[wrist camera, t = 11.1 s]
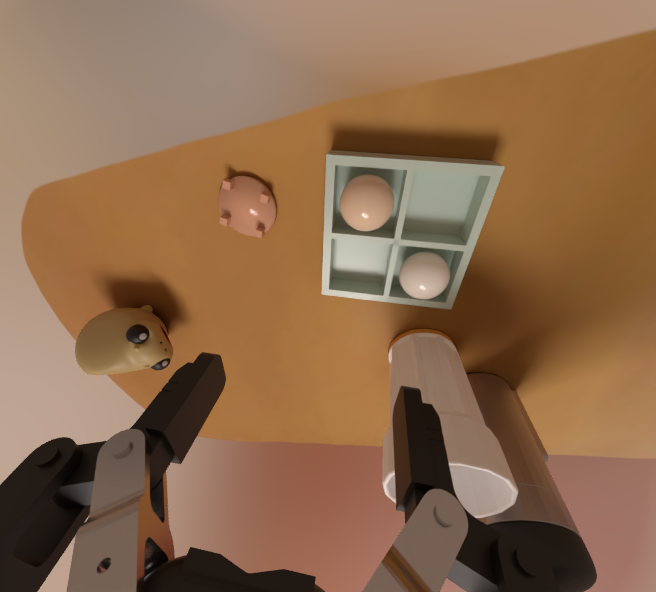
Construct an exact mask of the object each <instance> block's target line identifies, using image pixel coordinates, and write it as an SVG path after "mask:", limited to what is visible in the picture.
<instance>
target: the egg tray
mask: <svg viewBox="0 0 656 592" xmlns="http://www.w3.org/2000/svg"><path fill="white" fill-rule="evenodd" d="M504 168H505V166H503V165H501V164H499V163H496V162H494V161H490V160H475V159H459V158H444V157H429V156H414V155H398V154H383V153H368V152H352V151H337V150H331V151H330V152H329V153H327V154H326V182H325V211H324V241H323V271H322V295H331V296H339V297H348V298H356V299H365V300H373V301H382V302H390V303H399V304H407V305H415V306H424V307H432V308H441V309H449V310H451V309H452V306H453V303H454V301H455V298H456V295H457V293H458V290H459V287H460V285H461V282H462V280H463V277H464V274H465V272H466V269H467V266H468V264H469V261H470V258H471V256H472V253H473V250H474V248H475V245H476V242H477V240H478V237H479V234H480V232H481V229H482V226H483V224H484V221H485V219H486V216H487V213H488V211H489V208H490V205H491V203H492V200H493V197H494V195H495V192H496V189H497V187H498V184H499V181H500V179H501V176H502V173H503V171H504ZM364 174H372V175H377V176H379V177H381V178H383V179H384V180H385V181H386V182H387V183H388V184H389V185H390V187H391V189H392V191H393V194H394V209H393V212H392V214H391V216H390V218H389V219H388V221H387V222H386V223H385V224H384V225H383V226H381V227H380V228H378V229H375V230H372V231H359V230H356V229H354V228H352V227H351V226H350V225H348V224H347V223H346V221H345V220H344V218H343V217H342V214H341V211H340V197H341V194H342V191H343V189H344V188H345V186H346V185H347V184H348V183H349V182H350V181H351V180H352V179H354V178H355V177H357V176H360V175H364ZM422 251H428V252H433V253H436V254H438V255H439V256H441V257H442V258H443V259H444V260H445V261H446V263H447V265H448V267H449V271H450V279H449V283H448V285H447V287H446V288H445V290H444V291H443V292H442V293H441V294H439V295H438V296H436V297H434V298H431V299H417V298H414V297H412V296H410V295H409V294H407V293H406V292H405V291H404V289H403V288H402V286H401V284H400V281H399V271H400V268H401V266H402V264H403V262H404V261H405V260H406V259H407V258H408V257H409V256H411V255H412V254H415V253H417V252H422Z"/></svg>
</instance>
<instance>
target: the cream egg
mask: <svg viewBox="0 0 656 592" xmlns="http://www.w3.org/2000/svg"><path fill="white" fill-rule="evenodd" d="M449 279H450V271H449V267H448V265H447V263H446V261H445V260H444V259H443V258H442V257H441V256H439V255H438V254H436V253H433V252H428V251H422V252H417V253H415V254H412V255H411V256H409V257H408V258H407V259H406V260H405V261H404V262H403V264H402V266H401V268H400V271H399V281H400V284H401V286H402V288H403V289H404V291H405V292H406V293H407V294H409V295H410V296H412V297H414V298H417V299H431V298H434V297H436V296H438V295H439V294H441V293H442V292H443V291H444V290H445V288H446V287H447V285H448V283H449Z"/></svg>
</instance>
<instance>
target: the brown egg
mask: <svg viewBox="0 0 656 592" xmlns="http://www.w3.org/2000/svg"><path fill="white" fill-rule="evenodd" d="M393 209H394V194H393V191H392V189H391V187H390V185H389V184H388V183H387V182H386V181H385V180H384V179H383V178H381V177H379V176H377V175H372V174H364V175H360V176H357V177H355V178H354V179H352V180H351V181H350V182H349V183H348V184H347V185H346V186H345V188H344V189H343V191H342V194H341V197H340V211H341V214H342V217H343V218H344V220H345V221H346V223H347V224H348V225H350V226H351V227H352V228H354V229H356V230H359V231H372V230H375V229H378V228H380V227H381V226H383V225H384V224H385V223H386V222H387V221H388V219H389V218H390V216H391V214H392V212H393Z"/></svg>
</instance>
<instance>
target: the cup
mask: <svg viewBox="0 0 656 592" xmlns="http://www.w3.org/2000/svg"><path fill="white" fill-rule="evenodd" d="M388 353H389V363H390V427H389V428H388V430H387V432H386V434H385V436H384V438H383V481H382V482H383V487H384V490H385V494H386V495H387V496H388V497H389V498H390V499H391V500H392V501H394V502H395V503H396V490H395V467H394V444H393V409H394V405H395V402H396V399H397V396H398V393H399V390H400V387H401V386H407V387H413V388H419V389H420V391H421V396H422V403H427V404H432V405H433V407H434V409H435V410H436V412H437V414H438V415H439V417H440V422H441V427H442V433H443V437H444V444H445V447H446V452H447V457H448V462H449V467H450V472H451V477H452V482H453V487H454V491H455V493H456V496H457V498H458V499H459V501H460V503H461V504H462V505H463V507H464V508H465V509H466V510H467V511H468V512H469V513H470V514H471V515H472V516H474V517H475V518H483V517H487V516H491V515H494V514H498V513H502V512H503V511H505V510H506V509H508V508H509V507H511V506H512V505H514V504H515V501H516V498H517V494H518V488H517V486H516V483H515V481H514V478H513V476H512V473H511V471H510V468H509V466H508V463H507V461H506V458H505V456H504V453H503V451H502V449H501V446H500V444H499V441H498V440H497V438H496V437H495V435H494V434H493V433H492V431H491V430H490V429H489V428H488V427H486V425H485V422H484V419H483V417H482V414H481V412H480V409H479V406H478V404H477V401H476V399H475V396H474V393H473V391H472V388H471V385H470V383H469V380H468V378H467V375H466V372H465V370H464V367H463V365H462V362H461V359H460V357H459V354H458V351H457V349H456V346H455V345H454V343H453V341H452V340H451V339H450V338H449V337H448V336H447V335H445V334H443V333H442V332H440V331H436V330H431V329H414V330H410V331H407V332H405V333H403V334H401V335H399V336H398V337H397V338H395V339H394V340H393V341H392V342H391V345H390V347H389V350H388Z"/></svg>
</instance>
